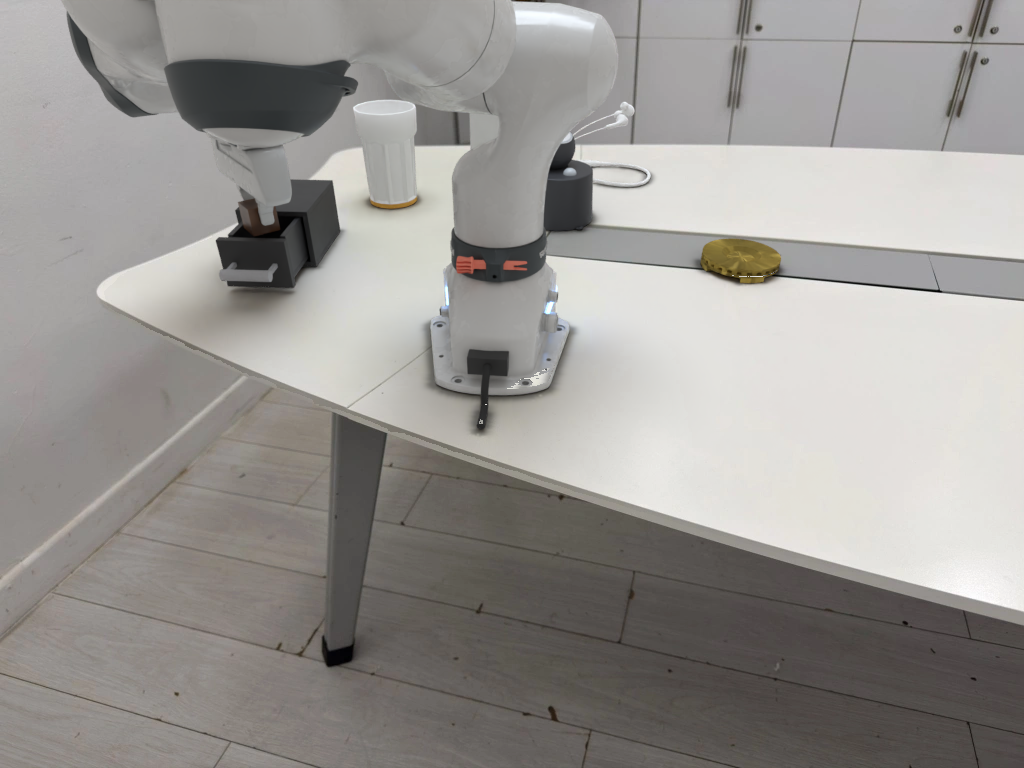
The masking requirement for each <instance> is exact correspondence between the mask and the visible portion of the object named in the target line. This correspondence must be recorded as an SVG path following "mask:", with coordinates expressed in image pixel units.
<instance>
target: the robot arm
mask: <svg viewBox="0 0 1024 768" xmlns="http://www.w3.org/2000/svg"><path fill="white" fill-rule="evenodd" d="M60 1H61V3H62V5H63V7H64V8H65V10H66V22H67V27H68V31H69V36H70V41H71V44H72V46H73V49H74V52H75V54H76V57H77V58H78V60H79V62H80V63H81V65H82V66H83V68H84V69H85V70H86V72H87V73H88V74H89V75H90V76H91V77H92V78H93V80H95V82H96V83H97V84H98V86H99V88H100V91H102V94H103V95H104V97H105V99H106V101H107V102H108V103H110V104H111V105H112V106H113V107H114V108H116V109H117V110H118V111H120V112H121V113H123V114H124V115H127V116H128V117H130V118H142V117H147V116H149V117H150V116H157V115H159V114H176V113H177V114H178V115H179V116H180V118H181V119H182V120H183V121H184V122H185V123H187V124H188V125H189V126H190V127H192V128H193V129H194V130H196V131H198V132H201V133H205V135H206V136H207V137H208V138H209V139H210V141H211V148H212V152H213V158H214V162H215V164H216V167H217V170H218V171H219V173H221V174H222V175H223V176H225V177H226V178H228V179H229V180H230V181H232V182H233V183H234V184H235V186H236V189H237V191H238V193H239V196H240V197H241V201H245V200H249V199H254V198H255V200H256V203H258V211H257V214H258V219H259V221H260V222H261V223H262V224H263V225H265V226H266V225H270V224H273V223H274V216H273V207H274V206H278V205H282V204H286V203H289V202H290V200H291V196H292V188H291V180H290V179H291V173H290V167H289V161H288V160H289V159H288V155H287V152H286V149H285V146H284V145H286V144H289V143H291V142H294V141H297V140H298V139H300V138H306V137H310V136H311V135H313V134H314V133H315V132H316V131H318V130H319V129H320V128H321V127H323V126H324V125H325V123H327V122H328V121H329V120H330V119H331V118H332V117H333V115H334V114H335V112H336V111H337V108H338V106H339V105H340V103H341V101H342V99H343V98H344V97H349V96H352V95H354V94H355V93H356V92H357V89H358V86H359V81H358V80H357V79H355V78H353V77H351V76H345V75H346V73H347V72H348V70H349V68H350V67H352V66H351V65H355V64H356V65H357V64H359V65H362V64H364V65H368V66H372V67H375V68H378V69H380V70H382V71H383V73H384V76H385V78H386V80H387V83H388V84H389V86H390V88H391V89H392V91H393V92H394V93H395V94H396V96H397V97H399V99H401V100H402V101H407V102H410V103H413V104H414V105H419V106H422V107H424V108H425V107H426V108H430V109H434V110H437V111H442V112H452V113H466V114H469V113H476V114H489V115H497V116H498V117H499V133H498V137H497V138H495V139H492V140H490V141H487V142H485V143H483V144H481V145H479V146H477V147H475V148H473V149H471V150H470V149H469V150H468V151H467V152H465V153H464V154H463V155H462V156H461V157H460V158H459V159H458V160H457V161H456V163H455V166H454V168H453V171H452V175H451V190H452V211H453V227H452V229H451V232H450V241H449V242H450V243H449V244H450V246H449V247H450V256H451V257H450V258H451V262H450V263H449V264H448V265H447V266H445V268H443V269H442V272H443V289H444V306H442V305H441V306H440V308H439V315H436V316H434V317H432V318H431V319H430V329H429V330H430V338H431V350H432V351H431V352H432V362H433V374H434V382H435V384H436V385H437V386H440V387H441V388H444V389H446V390H450V391H454V392H458V393H464V394H471V395H480V408H479V415H478V419H477V423H476V428H477V429H478V430H484V429H485V427H486V422H487V418H488V413H489V396H515V395H516V396H517V395H527V394H532V393H537V392H540V391H543V390H546V389H548V388H549V387H550V386H551V384H552V382H553V379H554V376H555V374H556V370H557V368H558V364H559V362H560V358H561V356H562V353H563V350H564V348H565V345H566V342H567V339H568V337H569V333H570V322H568V321H567V320H565V319H563V318H561V317H559V315H558V312H556V307H557V305H556V303H558V300H559V292H558V285H557V271H556V270H554V269H553V268H552V267H551V266H550V265H549V264H548V263H547V262H546V261H547V250H548V238H547V237H548V235H547V230H546V229H545V228H544V227H543V223H544V205H545V194H546V186H547V178H548V173H549V169H550V165H551V162H552V160H553V157H554V155H555V153H556V151H557V149H558V147H559V146H560V144H561V143H562V141H563V140H564V138H565V137H566V136H567V135H568V134H569V132H570V131H571V132H572V131H573V129H574V128H576V126H577V125H579V124H580V123H581V122H582V121H583V120H585V119H586V118H588V117H589V116H591V115H592V114H594V113H595V112H596V111H597V110H598V109H599V108H600V107H601V106H602V105H603V104H604V103H605V101H607V99H608V97H609V95H610V94H611V92H612V90H613V88H614V85H615V82H616V79H617V76H618V70H619V57H620V56H619V49H618V47H619V46H618V43H617V39H616V37H615V34H614V31H613V29H612V27H611V25H610V24H609V22H608V21H607V19H606V18H605V17H604V15H602V14H600V13H597V12H594V11H591V10H587V9H584V8H581V7H576V6H573V5H569V4H564V3H561V2H541V1H540V2H536V1H512V0H60ZM554 365H555V366H554ZM547 368H550V369H549V370H548V371H547ZM553 368H554V369H553ZM544 369H545V370H546V371H542V370H544ZM552 370H553V372H550V371H552ZM537 372H540V373H539V375H541V374H544V373H547V372H549V373H548V375H551V377H550V379H549V381H548V382H546V383H543V384H540V385H537V386H532V387H527V388H519V389H507V388H513V387H511V386H514V385H516V384H515V383H519V384H518V385H521V386H530V385H532V383H533V382H532V381H531V380H530V379H524V378H531V377H534V376H538V375H534V374H536V373H537ZM551 373H552V374H551ZM520 379H521V380H520ZM536 379H539V378H536ZM518 381H519V382H518ZM485 404H487V405H485ZM480 419H481V420H483V424H479V421H480ZM480 423H481V422H480Z"/></svg>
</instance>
